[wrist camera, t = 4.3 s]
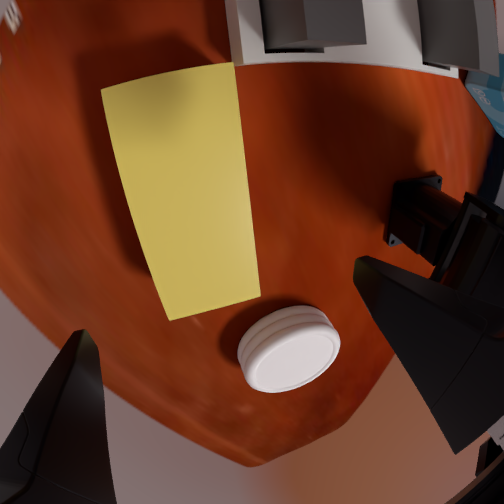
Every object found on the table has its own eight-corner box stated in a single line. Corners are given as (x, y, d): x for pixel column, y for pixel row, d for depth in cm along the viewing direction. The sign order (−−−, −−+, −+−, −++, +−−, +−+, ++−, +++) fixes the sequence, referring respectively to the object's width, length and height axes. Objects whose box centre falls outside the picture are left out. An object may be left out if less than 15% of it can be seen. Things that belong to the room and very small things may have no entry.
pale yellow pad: (217, 66, 15) (233, 62, 12) (244, 263, 23) (260, 296, 20) (113, 88, 14) (100, 89, 11) (165, 283, 22) (169, 320, 19)
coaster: (332, 342, 33) (346, 364, 30) (254, 380, 33) (264, 405, 30) (317, 285, 27) (336, 310, 24) (219, 334, 27) (229, 363, 24)
